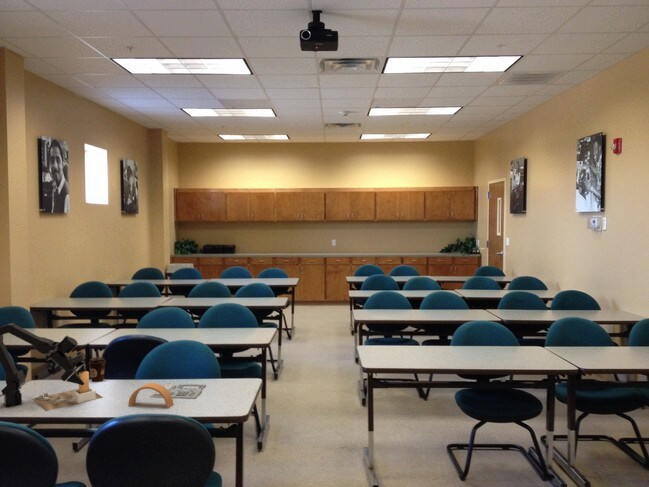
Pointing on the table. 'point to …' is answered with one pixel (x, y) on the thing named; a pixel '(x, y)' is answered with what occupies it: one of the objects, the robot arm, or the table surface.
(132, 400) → the arch
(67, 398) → the cable board
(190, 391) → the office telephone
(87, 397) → the end holder
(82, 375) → the tan cylinder
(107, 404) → the table surface
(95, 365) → the coffee cup
